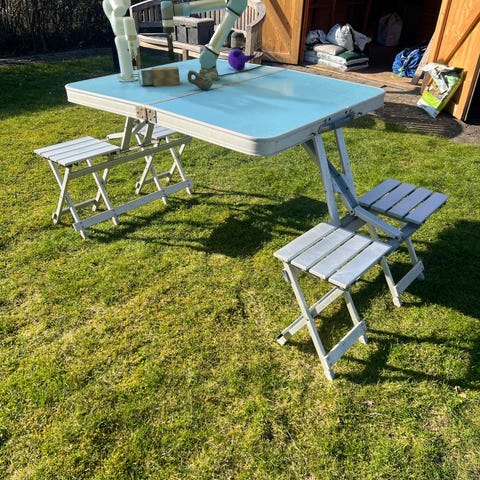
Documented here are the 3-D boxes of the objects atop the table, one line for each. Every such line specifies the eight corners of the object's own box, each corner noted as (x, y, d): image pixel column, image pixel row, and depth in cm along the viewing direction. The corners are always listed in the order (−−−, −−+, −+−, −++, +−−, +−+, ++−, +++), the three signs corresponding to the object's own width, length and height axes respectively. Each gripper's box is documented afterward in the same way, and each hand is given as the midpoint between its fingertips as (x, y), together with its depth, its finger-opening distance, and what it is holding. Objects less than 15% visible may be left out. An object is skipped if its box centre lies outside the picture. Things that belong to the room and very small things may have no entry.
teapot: (216, 86, 317) (215, 63, 310) (220, 89, 308) (219, 66, 300) (186, 88, 312) (184, 66, 304) (190, 92, 302) (188, 68, 295)
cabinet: (154, 86, 322) (152, 70, 316) (153, 83, 331) (151, 67, 325) (180, 84, 325) (178, 68, 319) (178, 82, 334) (177, 66, 328)
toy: (240, 72, 359) (228, 71, 382) (259, 65, 362) (246, 64, 386) (234, 52, 351) (222, 52, 375) (253, 45, 354) (241, 45, 378)
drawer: (131, 86, 319) (129, 72, 314) (131, 83, 327) (129, 70, 322) (164, 84, 323) (162, 71, 318) (163, 81, 331) (161, 68, 326)
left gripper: (136, 38, 302) (140, 67, 311) (136, 36, 315) (139, 64, 324) (125, 39, 301) (129, 68, 310) (125, 37, 313) (129, 64, 323)
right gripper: (175, 27, 299) (178, 61, 310) (172, 24, 320) (175, 56, 331) (164, 28, 298) (167, 62, 309) (161, 25, 319) (165, 57, 330)
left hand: (134, 66), depth 317 cm, fingers closed
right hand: (171, 59), depth 320 cm, fingers open, 13 cm apart
